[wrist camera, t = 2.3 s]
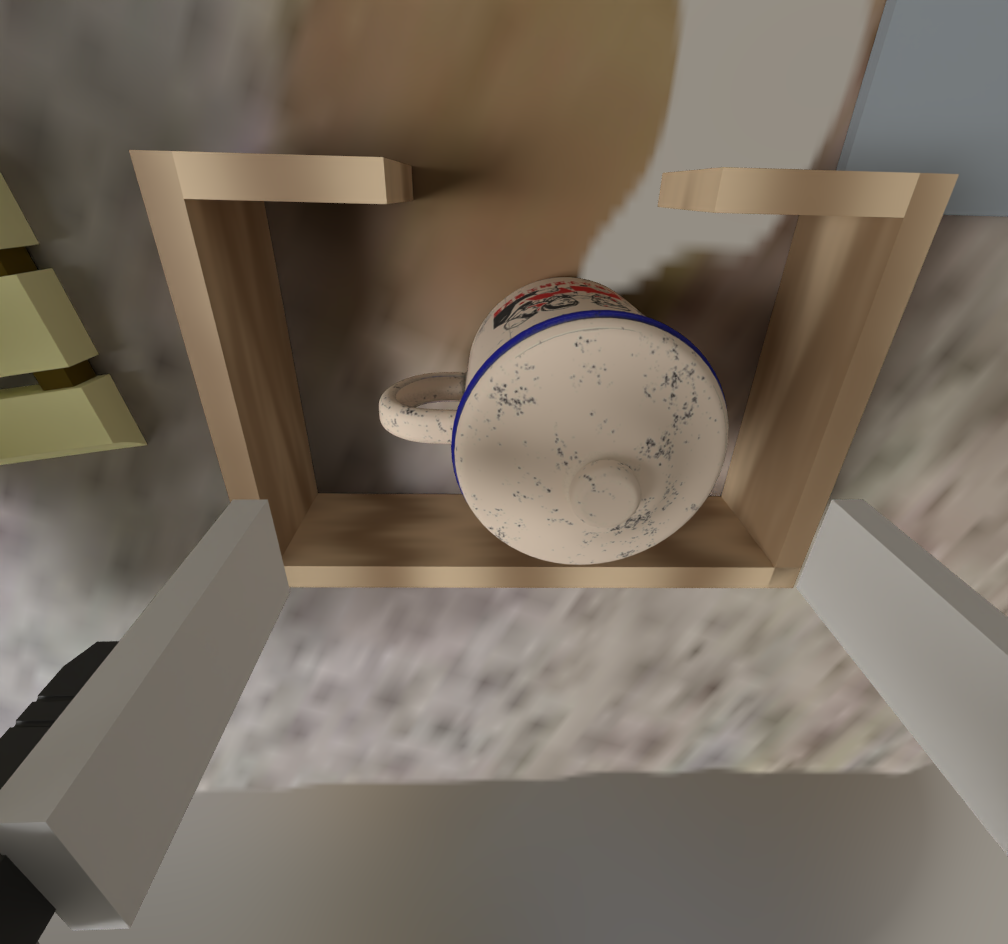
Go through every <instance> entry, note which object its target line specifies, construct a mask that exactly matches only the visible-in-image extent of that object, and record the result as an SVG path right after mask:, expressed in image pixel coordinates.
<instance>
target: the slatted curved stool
mask: <svg viewBox="0 0 1008 944" xmlns="http://www.w3.org/2000/svg"><path fill="white" fill-rule="evenodd" d="M37 244H39V243H38V241H37V239H36V237H35V235H34V233H33V232H32V230H31V228H30V226H29V224H28V222H27V220H26V219H25V217H24V215H23V213H22V211H21V209H20V207H19V206H18V204H17V202H16V200H15V198H14V196H13V194H12V193H11V191H10V189H9V187H8V185H7V183H6V181H5V180H4V178H3V176H2V174H1V172H0V377H5V376H11V375H18V374H25V373H31V372H32V373H33V375H34V376H35V378H36V380H37V381H38V383H39V384H36V385H29V386H22V387H15V388H8V389H1V390H0V465H5V464H12V463H19V462H26V461H34V460H41V459H48V458H56V457H63V456H70V455H78V454H85V453H92V452H100V451H107V450H114V449H122V448H129V447H136V446H144V445H147V443H146V441H145V439H144V437H143V435H142V434H141V432H140V430H139V428H138V426H137V424H136V422H135V421H134V419H133V417H132V415H131V413H130V411H129V409H128V408H127V406H126V404H125V402H124V400H123V398H122V396H121V395H120V393H119V391H118V389H117V387H116V385H115V383H114V382H113V380H112V378H111V376H110V374H106V375H99V376H96V374H95V372H94V371H93V369H92V367H91V365H90V363H89V362H88V360H87V359H89V358H92V357H94V356H96V355H99V354H98V352H97V350H96V348H95V346H94V345H93V343H92V341H91V339H90V337H89V335H88V333H87V332H86V330H85V328H84V326H83V324H82V322H81V320H80V319H79V317H78V315H77V313H76V311H75V309H74V308H73V306H72V304H71V302H70V300H69V298H68V296H67V295H66V293H65V291H64V289H63V287H62V285H61V283H60V282H59V280H58V278H57V276H56V274H55V272H54V270H53V269H52V268H50V269H43V270H37V268H36V266H35V264H34V262H33V260H32V259H31V257H30V255H29V253H28V251H27V250H26V248H25V246H31V245H37Z"/></svg>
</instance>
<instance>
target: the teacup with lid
mask: <svg viewBox="0 0 1008 944" xmlns="http://www.w3.org/2000/svg"><path fill="white" fill-rule="evenodd" d="M446 401H460V403H459V406H458V409H457V410H437V409H422V408H416V407H417V406H420V405H423V404H427V403H433V402H446ZM379 415H380V421H381V424H382V425H383V427H384V428H385V429H386V430H387V431H388V432H390V433H392V434H393V435H395V436H397V437H400V438H403V439H406V440H410V441H415V442H422V443H436V444H451V451H452V462H453V468H454V473H455V476H456V480H457V483H458V485H459V488H460V490H461V493H462V494H463V496H464V498H465V500H466V502H467V503H468V505H469V507H470V508H471V510H472V511H473V513H474V514H475V516H476V517H477V518H478V519H479V520H480V522H481V523H482V524H483V525H484V526H485V527H486V528H487V529H488V530H489V531H490V532H491V533H492V534H494V535H495V536H496V537H497V538H499V539H500V540H501V541H503V542H504V543H506V544H507V545H509V546H511V547H512V548H514V549H516V550H518V551H520V552H522V553H525V554H527V555H529V556H532V557H535V558H538V559H541V560H545V561H549V562H554V563H561V564H573V565H588V564H599V563H605V562H611V561H615V560H619V559H623V558H626V557H629V556H632V555H635V554H637V553H640V552H642V551H645V550H647V549H649V548H651V547H653V546H655V545H656V544H658V543H660V542H661V541H663V540H665V539H666V538H668V537H669V536H670V535H672V534H673V533H675V532H676V531H677V530H678V529H679V528H681V527H682V526H683V525H684V524H685V523H686V522H687V521H688V520H689V519H690V518H691V517H692V516H693V515H694V514H695V513H696V512H697V511H698V509H699V508H700V507H701V506H702V504H703V503H704V502H705V500H706V499H707V497H708V496H709V494H710V492H711V491H712V489H713V487H714V485H715V483H716V481H717V479H718V477H719V474H720V471H721V469H722V466H723V463H724V459H725V455H726V451H727V444H728V430H729V425H728V414H727V407H726V402H725V397H724V393H723V390H722V387H721V384H720V382H719V380H718V378H717V376H716V373H715V371H714V370H713V368H712V367H711V365H710V363H709V362H708V360H707V359H706V358H705V357H704V355H703V354H702V353H701V352H700V350H699V349H698V348H697V347H695V346H694V345H693V344H692V343H691V342H690V341H689V340H688V339H687V338H685V337H684V336H683V335H681V334H680V333H679V332H677V331H676V330H674V329H672V328H670V327H669V326H667V325H665V324H663V323H661V322H659V321H656V320H654V319H652V318H648V317H646V316H645V315H643V314H642V313H641V312H640V311H639V310H637V309H636V308H635V307H634V306H632V305H631V304H630V303H629V302H628V301H626V300H625V299H624V298H623V297H621V296H620V295H619V294H617V293H616V292H615V291H613V290H611V289H609V288H608V287H606V286H604V285H601V284H599V283H596V282H593V281H590V280H586V279H581V278H573V277H557V278H549V279H544V280H540V281H537V282H534V283H531V284H529V285H526V286H524V287H522V288H520V289H518V290H516V291H515V292H513V293H512V294H510V295H509V296H507V297H506V298H505V299H503V300H502V301H501V302H500V303H499V304H498V305H497V306H496V307H495V308H494V309H493V310H492V311H491V312H490V313H489V315H488V316H487V317H486V319H485V320H484V322H483V323H482V325H481V326H480V328H479V330H478V332H477V334H476V336H475V339H474V341H473V344H472V348H471V351H470V356H469V362H468V370H467V372H466V373H459V372H443V373H429V374H422V375H417V376H413V377H410V378H407V379H404V380H402V381H399V382H397V383H396V384H394V385H392V386H391V387H389V388H388V389H387V390H386V391H385V392H384V393H383V394H382V396H381V398H380V401H379Z"/></svg>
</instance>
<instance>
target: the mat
mask: <svg viewBox="0 0 1008 944" xmlns="http://www.w3.org/2000/svg"><path fill="white" fill-rule="evenodd" d="M836 171H870V172H904V173H938V174H959V176H958V178H957V181H956V183H955V186H954V188H953V191H952V193H951V196H950V198H949V201H948V203H947V206H946V208H945V211H944V213H943V215H970V216H1007V217H1008V0H887V1H886V5H885V8H884V11H883V15H882V18H881V21H880V25H879V28H878V31H877V35H876V38H875V41H874V45H873V48H872V52H871V55H870V58H869V62H868V65H867V68H866V72H865V75H864V78H863V82H862V85H861V89H860V92H859V95H858V99H857V102H856V105H855V109H854V112H853V115H852V119H851V122H850V125H849V129H848V132H847V136H846V139H845V142H844V146H843V149H842V152H841V156H840V159H839V162H838V166H837V169H836Z"/></svg>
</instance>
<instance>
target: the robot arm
mask: <svg viewBox="0 0 1008 944" xmlns="http://www.w3.org/2000/svg"><path fill="white" fill-rule="evenodd" d="M796 588H797V589H798V591H799V592H800V593H801V594H802V596H803V597H804V598H805V600H806V601H807V602H808V603H809V605H810V606H811V607H812V608H813V610H814V611H815V612H816V614H817V615H818V616H819V617H820V619H821V620H822V621H823V622H824V624H825V625H826V626H827V628H828V629H829V630H830V631H831V633H832V634H833V635H834V636H835V638H836V639H837V640H838V641H839V643H840V644H841V645H842V647H843V648H844V649H845V650H846V652H847V653H848V654H849V655H850V657H851V658H852V659H853V661H854V662H855V663H856V664H857V666H858V667H859V668H860V669H861V671H862V672H863V673H864V675H865V676H866V677H867V678H868V680H869V681H870V682H871V683H872V685H873V686H874V687H875V689H876V690H877V691H878V692H879V694H880V695H881V696H882V697H883V699H884V700H885V701H886V702H887V704H888V705H889V706H890V708H891V709H892V710H893V711H894V713H895V714H896V715H897V716H898V718H899V719H900V720H901V722H902V723H903V724H904V725H905V727H906V728H907V729H908V730H909V732H910V733H911V734H912V736H913V737H914V738H915V739H916V741H917V742H918V743H919V744H920V746H921V747H922V748H923V749H924V751H925V752H926V753H927V755H928V756H929V757H930V758H931V760H932V761H933V762H934V763H935V765H936V766H937V767H938V769H939V770H940V771H941V772H942V774H943V775H944V776H945V777H946V779H947V780H948V781H949V783H950V784H951V785H952V786H953V787H954V789H955V790H956V791H957V793H958V794H959V795H960V796H961V798H962V799H963V800H964V802H965V803H966V804H967V805H968V807H969V808H970V809H971V810H972V812H973V813H974V814H975V815H976V817H977V818H978V819H979V821H980V822H981V823H982V824H983V826H984V827H985V828H986V829H987V831H988V832H989V833H990V835H991V836H992V837H993V838H994V840H995V841H996V842H997V844H998V845H999V846H1000V847H1001V849H1002V850H1003V851H1004V852H1005V854H1006V855H1007V856H1008V617H1007V616H1005V615H1004V614H1003V613H1002V612H1001V611H999V610H998V609H997V608H996V607H994V606H993V605H992V604H991V603H989V602H988V601H987V600H986V599H985V598H983V597H982V596H981V595H980V594H978V593H977V592H976V591H975V590H974V589H972V588H971V587H970V586H969V585H967V584H966V583H965V582H964V581H963V580H961V579H960V578H959V577H958V576H956V575H955V574H954V573H953V572H951V571H950V570H949V569H948V568H947V567H945V566H944V565H943V564H942V563H940V562H939V561H938V560H937V559H936V558H934V557H933V556H932V555H931V554H929V553H928V552H927V551H926V550H925V549H923V548H922V547H921V546H920V545H918V544H917V543H916V542H915V541H913V540H912V539H911V538H910V537H909V536H907V535H906V534H905V533H904V532H902V531H901V530H900V529H899V528H898V527H896V526H895V525H894V524H893V523H891V522H890V521H889V520H888V519H887V518H885V517H884V516H883V515H882V514H880V513H879V512H878V511H877V510H875V509H874V508H873V507H872V506H871V505H869V504H868V503H867V502H866V501H864V500H863V499H832V500H831V503H830V505H829V508H828V510H827V513H826V515H825V518H824V520H823V523H822V525H821V528H820V530H819V532H818V535H817V537H816V540H815V542H814V545H813V547H812V550H811V552H810V555H809V557H808V560H807V562H806V564H805V567H804V569H803V572H802V574H801V577H800V579H799V582H798V584H797V587H796ZM289 593H290V589H289V585H288V580H287V576H286V572H285V568H284V564H283V560H282V556H281V552H280V548H279V544H278V540H277V535H276V531H275V527H274V523H273V519H272V515H271V511H270V507H269V503H268V500H232V501H231V503H230V504H229V505H228V506H227V508H226V509H225V510H224V511H223V513H222V514H221V515H220V516H219V518H218V519H217V520H216V521H215V523H214V524H213V525H212V526H211V528H210V529H209V530H208V531H207V533H206V534H205V535H204V536H203V538H202V539H201V540H200V541H199V543H198V544H197V545H196V546H195V548H194V549H193V550H192V551H191V553H190V554H189V555H188V556H187V558H186V559H185V560H184V561H183V563H182V564H181V565H180V566H179V568H178V569H177V570H176V571H175V573H174V574H173V575H172V576H171V578H170V579H169V580H168V581H167V583H166V584H165V585H164V586H163V588H162V589H161V590H160V591H159V593H158V594H157V595H156V596H155V598H154V599H153V600H152V601H151V603H150V604H149V605H148V606H147V608H146V609H145V610H144V611H143V613H142V614H141V615H140V616H139V618H138V619H137V620H136V621H135V622H134V624H133V625H132V626H131V627H130V629H129V630H128V631H127V632H126V634H125V635H124V636H123V637H122V639H121V640H120V641H112V642H96V643H95V644H94V645H92V646H91V647H89V648H88V649H87V650H85V651H84V652H83V653H81V654H80V655H78V656H77V657H76V658H74V659H73V660H72V661H70V662H69V663H68V664H66V665H65V666H63V668H62V669H61V670H60V671H59V672H58V673H57V674H56V676H55V677H54V678H53V679H52V680H51V681H50V682H49V683H48V685H47V686H46V687H45V688H44V689H43V690H42V691H41V693H40V694H39V695H38V699H37V701H36V702H32V703H31V704H30V705H29V706H28V707H27V709H26V710H25V711H24V712H23V713H22V714H21V715H20V717H19V718H18V719H17V720H16V725H15V726H14V727H13V728H9V729H8V730H7V731H6V733H5V734H4V735H3V736H2V737H1V738H0V944H39V942H38V940H39V938H40V936H41V934H42V933H43V931H44V929H45V928H46V926H47V924H48V923H49V921H50V919H51V917H52V916H53V914H54V912H56V913H57V914H58V916H59V917H60V918H61V919H62V920H63V921H64V922H65V923H66V924H67V925H68V926H69V927H70V929H71V930H99V929H124V928H125V929H126V928H130V927H131V925H132V923H133V921H134V919H135V917H136V915H137V913H138V911H139V909H140V906H141V904H142V902H143V900H144V898H145V896H146V894H147V892H148V889H149V888H150V885H151V883H152V881H153V879H154V877H155V875H156V873H157V871H158V869H159V866H160V864H161V862H162V860H163V858H164V856H165V854H166V852H167V850H168V848H169V846H170V843H171V841H172V839H173V837H174V835H175V833H176V831H177V829H178V827H179V824H180V822H181V820H182V818H183V816H184V814H185V812H186V810H187V808H188V806H189V803H190V801H191V799H192V797H193V795H194V793H195V791H196V789H197V787H198V785H199V782H200V780H201V778H202V776H203V774H204V772H205V770H206V768H207V766H208V764H209V761H210V759H211V757H212V755H213V753H214V751H215V749H216V747H217V745H218V743H219V740H220V738H221V736H222V734H223V732H224V730H225V728H226V726H227V724H228V722H229V719H230V717H231V715H232V713H233V711H234V709H235V707H236V705H237V703H238V701H239V698H240V696H241V694H242V692H243V690H244V688H245V686H246V684H247V682H248V680H249V677H250V675H251V673H252V671H253V669H254V667H255V665H256V663H257V661H258V658H259V656H260V654H261V652H262V650H263V648H264V646H265V644H266V642H267V640H268V637H269V635H270V633H271V631H272V629H273V627H274V625H275V623H276V621H277V619H278V616H279V614H280V612H281V610H282V608H283V606H284V604H285V602H286V600H287V598H288V595H289Z"/></svg>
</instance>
